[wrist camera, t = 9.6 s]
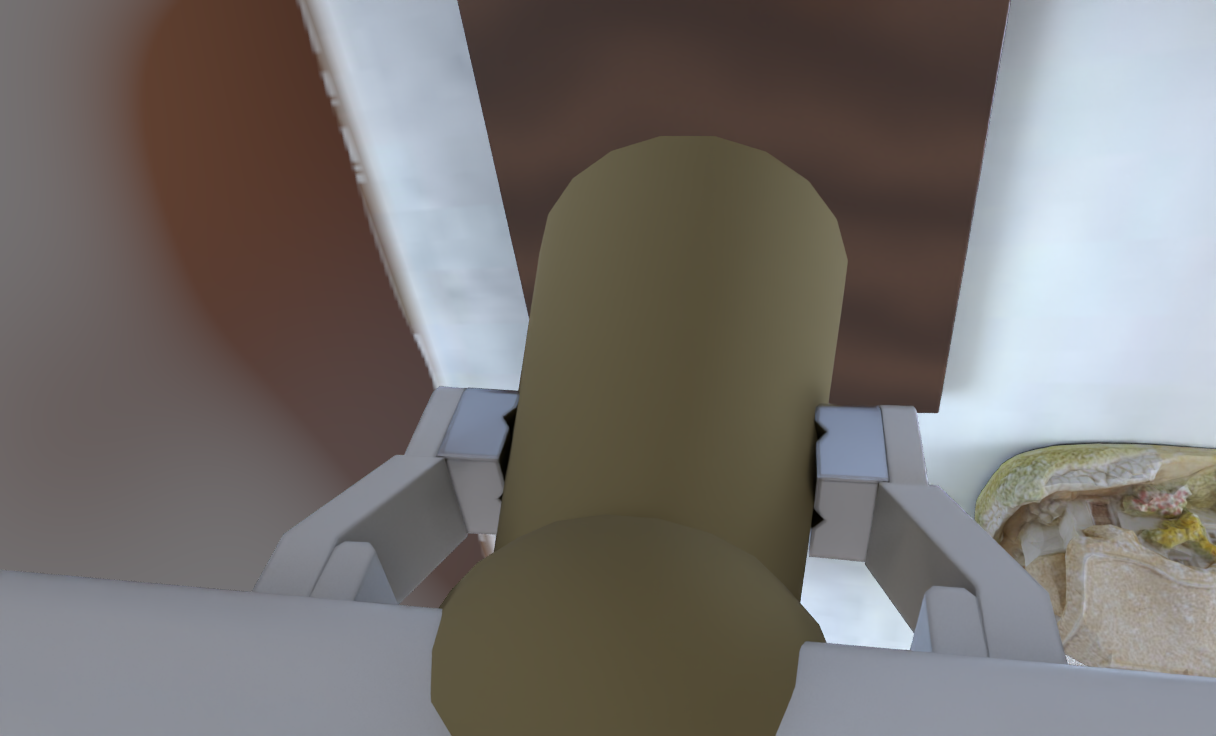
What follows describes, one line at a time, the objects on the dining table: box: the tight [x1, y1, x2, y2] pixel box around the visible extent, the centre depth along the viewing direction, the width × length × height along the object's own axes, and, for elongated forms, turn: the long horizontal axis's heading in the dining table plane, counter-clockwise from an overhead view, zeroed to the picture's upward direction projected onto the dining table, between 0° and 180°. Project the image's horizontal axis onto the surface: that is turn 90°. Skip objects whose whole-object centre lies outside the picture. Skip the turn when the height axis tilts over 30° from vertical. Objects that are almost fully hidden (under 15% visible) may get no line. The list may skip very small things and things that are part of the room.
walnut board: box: [457, 0, 1011, 413], centre depth 34 cm, size 22×18×2 cm
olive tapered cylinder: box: [431, 136, 848, 736], centre depth 13 cm, size 6×6×11 cm
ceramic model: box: [974, 443, 1216, 678], centre depth 39 cm, size 14×11×10 cm
